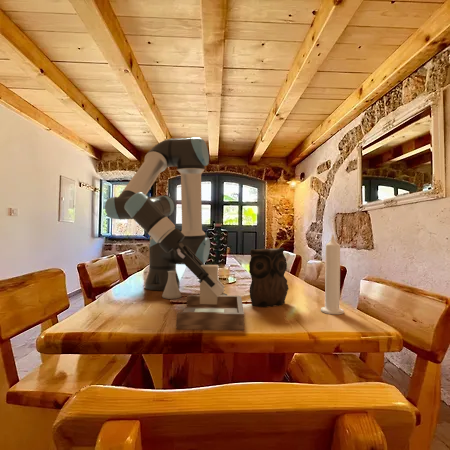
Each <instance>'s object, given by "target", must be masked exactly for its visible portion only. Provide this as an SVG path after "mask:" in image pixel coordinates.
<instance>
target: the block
mask: <svg viewBox="0 0 450 450" xmlns="http://www.w3.org/2000/svg"><path fill="white" fill-rule="evenodd" d="M201 267H202V268H203V269H204V270H205V271H206V272H207V273H208V275H209V274H210V275H211V276H212V277H213V278H214V279H215V280H216V281H217V282H218V280H219V272H218V271H219V265H218V264H204V265H201ZM199 293H200V304H217V295H216V294H215V293H214V292H213V291H212V290H211V289H210V288H209V287H208V286H207V285H206V284H205V283H204V282H203V281H202V282H201V283H200V282H199Z"/></svg>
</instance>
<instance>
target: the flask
mask: <svg viewBox="0 0 450 450" xmlns="http://www.w3.org/2000/svg"><path fill="white" fill-rule="evenodd" d="M176 272H177V270H176V271H168V281H167V284H166V287H165V289H164V290H163V292H162V295H161V297H162V298H163V299H167V300H174V299H179V298H182V296H183V295H182V294H181V291H180V287H179V288H178V285H177V282H176Z"/></svg>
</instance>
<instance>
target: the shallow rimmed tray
mask: <svg viewBox="0 0 450 450" xmlns="http://www.w3.org/2000/svg"><path fill="white" fill-rule="evenodd" d="M242 300H243V299H242V296H241V295H227V296H221V295H220V296H219V297H218V296H217V304H200V295H197V294H187V295H186V305H185V307H184V309H183V311H176V313H175V314H176V318H175V320H176V321H175V328H176V330H206V329H207V331H208V330H212V331H215V330H217V331H218V330H219V331H221V330H224V331H228V330H230V331H245V310H244V304H243V301H242Z"/></svg>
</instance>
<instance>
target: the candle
mask: <svg viewBox="0 0 450 450" xmlns="http://www.w3.org/2000/svg"><path fill="white" fill-rule="evenodd" d="M324 253H325V264H324V266H325V267H324V268H325V271H324V272H325V274H324V275H325V276H324V279H325V281H324V284H325V285H324V289H325V291H324V306H322V307H321V308H320V311H321V312H322V313H325V314H327V315H342V314H344V313H345V310H344V308H341V307H340V305H341V304H340V301H341V295H340V294H341V293H340V292H341V288H340V287H341V244H339V243H338V242H337V241H336V239H335V235H334V234H332V235H331V237H330V241H329V242H327V243H326V244H325V252H324Z"/></svg>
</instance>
